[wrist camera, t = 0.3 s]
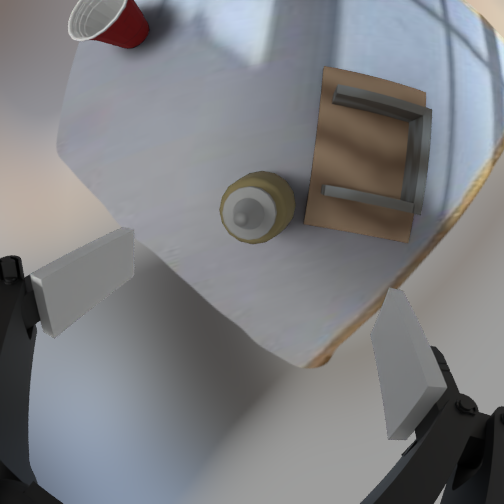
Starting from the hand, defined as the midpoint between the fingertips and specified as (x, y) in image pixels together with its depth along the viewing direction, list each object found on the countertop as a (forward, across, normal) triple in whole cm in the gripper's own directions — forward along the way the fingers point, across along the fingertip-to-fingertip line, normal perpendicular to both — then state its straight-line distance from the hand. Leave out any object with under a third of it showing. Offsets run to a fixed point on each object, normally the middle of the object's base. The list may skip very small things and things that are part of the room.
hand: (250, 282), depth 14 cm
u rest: (+28, +9, +8) cm, 30 cm away
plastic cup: (+28, -30, +24) cm, 47 cm away
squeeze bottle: (+26, -4, -1) cm, 26 cm away
